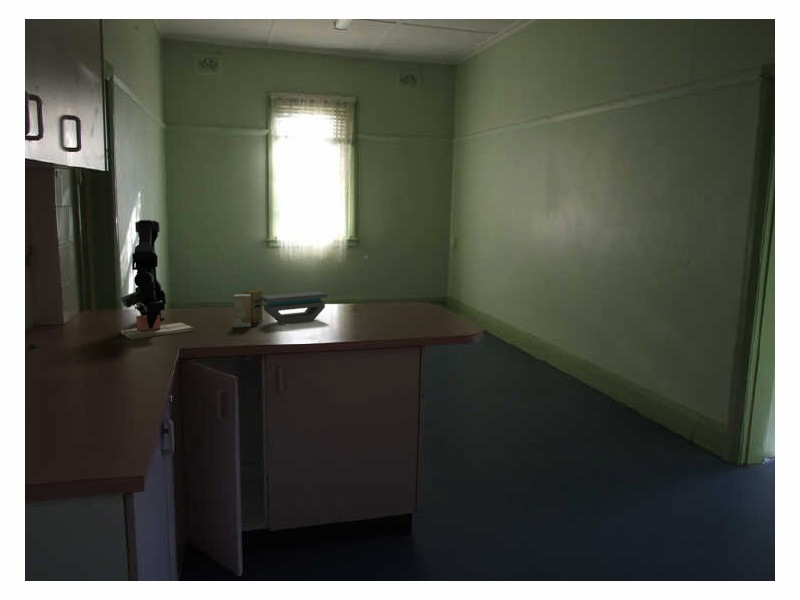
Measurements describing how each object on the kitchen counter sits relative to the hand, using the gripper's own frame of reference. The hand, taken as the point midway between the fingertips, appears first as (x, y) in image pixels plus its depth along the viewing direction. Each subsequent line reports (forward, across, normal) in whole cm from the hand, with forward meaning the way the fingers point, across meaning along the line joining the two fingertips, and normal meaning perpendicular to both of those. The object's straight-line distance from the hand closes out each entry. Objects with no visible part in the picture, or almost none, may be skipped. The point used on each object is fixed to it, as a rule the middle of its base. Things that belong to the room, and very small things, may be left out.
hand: (148, 327), depth 221 cm
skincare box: (+2, +10, +32) cm, 34 cm away
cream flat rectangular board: (+2, 0, +3) cm, 4 cm away
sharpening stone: (+2, +15, +52) cm, 54 cm away
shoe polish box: (+2, +3, +40) cm, 40 cm away
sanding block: (+1, 0, 0) cm, 1 cm away
